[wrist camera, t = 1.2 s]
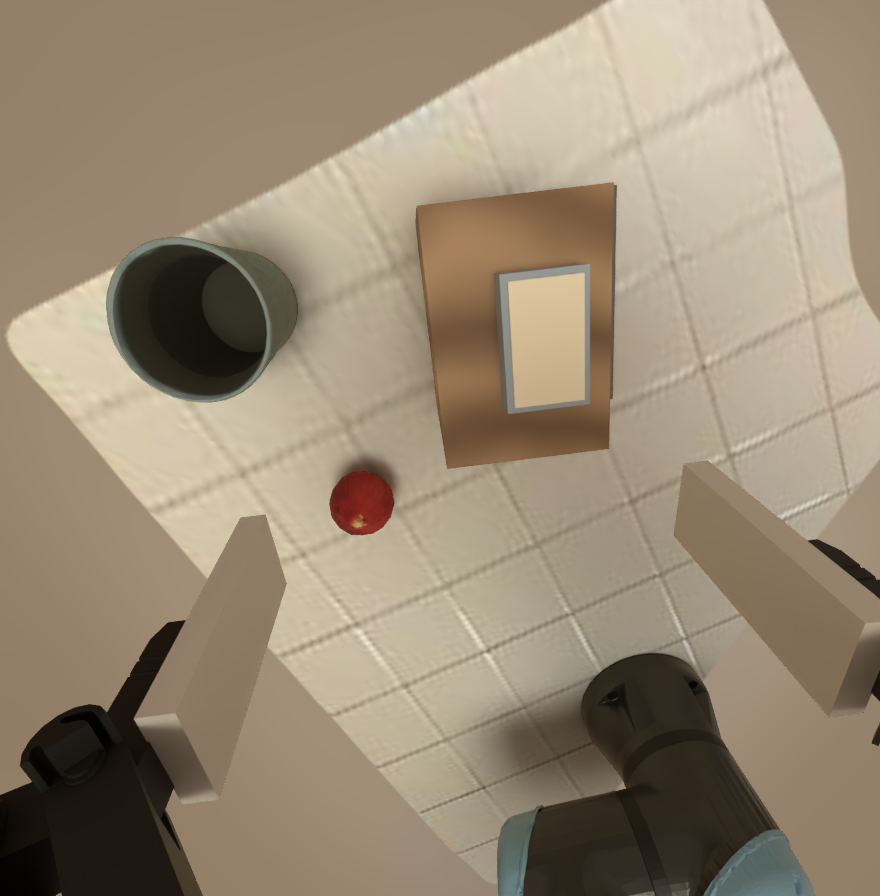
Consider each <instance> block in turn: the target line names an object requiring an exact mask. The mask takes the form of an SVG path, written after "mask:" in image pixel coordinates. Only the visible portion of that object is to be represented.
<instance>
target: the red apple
mask: <svg viewBox="0 0 880 896" xmlns="http://www.w3.org/2000/svg"><path fill="white" fill-rule="evenodd" d="M393 507H394V499H393V494H392V489H391V488H390V486H389V485H388V483H387V482H386V481H385V480H384V479H382V478H381V477H379V476H378V475H376V474H373V473H369V472H366V471H362V472H352V473H350V474H349V475H347V476H345V477H343V478H342V479H341V480H340V481H339V482H338V484H337V485H336V486H335V488H334V489H333V491H332V495H331V498H330V510H331V516H332V518H333V519H334V521H335V522H336V524H337V525H338V526H339V528H341V529H342V530H344V531H346V532H347V533H349V534H351V535H366V534H373V533H374V532H376V531H378V530H380V529H381V528H383V527H384V525H385V524H386V523H387V521H388V520H389V518H390V517H391V514H392V510H393Z"/></svg>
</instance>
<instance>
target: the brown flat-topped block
mask: <svg viewBox="0 0 880 896" xmlns="http://www.w3.org/2000/svg"><path fill="white" fill-rule="evenodd" d="M613 196H614V182H613V183H605V184H596V185H588V186H580V187H571V188H563V189H554V190H546V191H538V192H529V193H521V194H513V195H504V196H496V197H488V198H479V199H471V200H463V201H454V202H446V203H437V204H429V205H421V206H417V209H416V231H417V239H418V248H419V256H420V265H421V273H422V282H423V290H424V299H425V307H426V315H427V324H428V332H429V341H430V349H431V358H432V366H433V374H434V383H435V391H436V400H437V408H438V414H439V421H440V427H441V433H442V439H443V445H444V451H445V458H446V464H447V469H450V468H458V467H466V466H474V465H482V464H490V463H498V462H506V461H514V460H522V459H531V458H539V457H547V456H555V455H563V454H571V453H579V452H587V451H595V450H603V449H609V420H610V364H611V308H612V252H613ZM578 263H581V264H590V404H586V405H578V406H569V407H561V408H553V409H545V410H537V411H529V412H521V413H512V414H508V413H507V411H506V410H505V408H504V407H503V405H502V391H501V376H500V361H499V347H498V332H497V317H496V302H495V287H494V274H495V273H503V272H512V271H520V270H528V269H536V268H545V267H553V266H561V265H570V264H578Z"/></svg>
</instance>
